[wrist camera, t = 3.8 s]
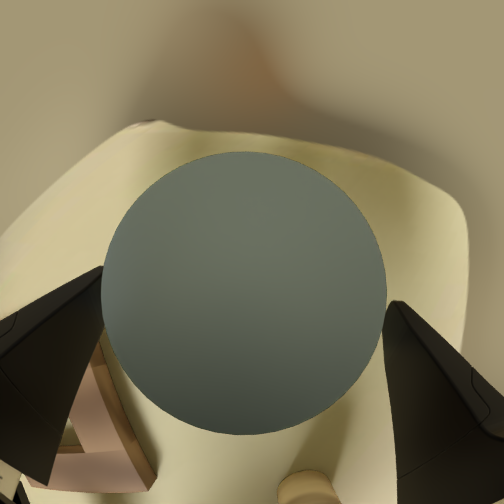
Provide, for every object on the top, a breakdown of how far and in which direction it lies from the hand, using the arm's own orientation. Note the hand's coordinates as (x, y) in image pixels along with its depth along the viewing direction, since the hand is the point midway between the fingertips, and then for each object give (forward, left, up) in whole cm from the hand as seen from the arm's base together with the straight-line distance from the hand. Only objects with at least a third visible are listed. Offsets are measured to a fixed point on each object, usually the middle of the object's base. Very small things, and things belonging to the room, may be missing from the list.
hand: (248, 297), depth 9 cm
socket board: (-3, +16, -9) cm, 19 cm away
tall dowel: (0, 0, -9) cm, 9 cm away
